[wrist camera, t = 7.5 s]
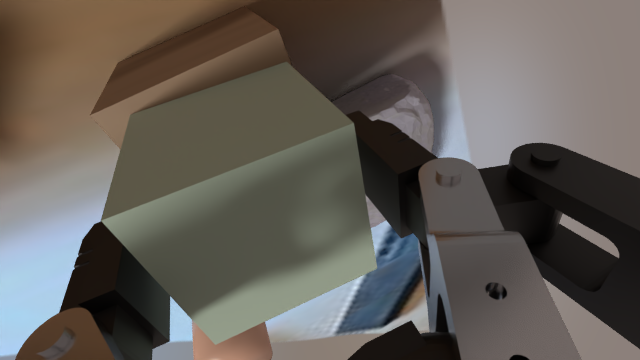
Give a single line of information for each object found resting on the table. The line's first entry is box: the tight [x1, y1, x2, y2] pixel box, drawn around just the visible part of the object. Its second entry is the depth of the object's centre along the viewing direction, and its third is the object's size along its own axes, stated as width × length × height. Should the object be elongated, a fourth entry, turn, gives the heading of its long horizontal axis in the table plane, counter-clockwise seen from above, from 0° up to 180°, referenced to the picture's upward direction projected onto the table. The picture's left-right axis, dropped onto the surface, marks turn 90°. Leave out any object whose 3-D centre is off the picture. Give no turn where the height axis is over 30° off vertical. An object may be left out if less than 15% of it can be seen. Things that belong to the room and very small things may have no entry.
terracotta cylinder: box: [192, 320, 272, 360], centre depth 21 cm, size 4×4×6 cm
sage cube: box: [101, 62, 377, 345], centre depth 10 cm, size 5×5×5 cm
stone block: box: [331, 74, 434, 228], centre depth 20 cm, size 12×5×10 cm
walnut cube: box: [90, 6, 292, 149], centre depth 14 cm, size 6×6×6 cm
